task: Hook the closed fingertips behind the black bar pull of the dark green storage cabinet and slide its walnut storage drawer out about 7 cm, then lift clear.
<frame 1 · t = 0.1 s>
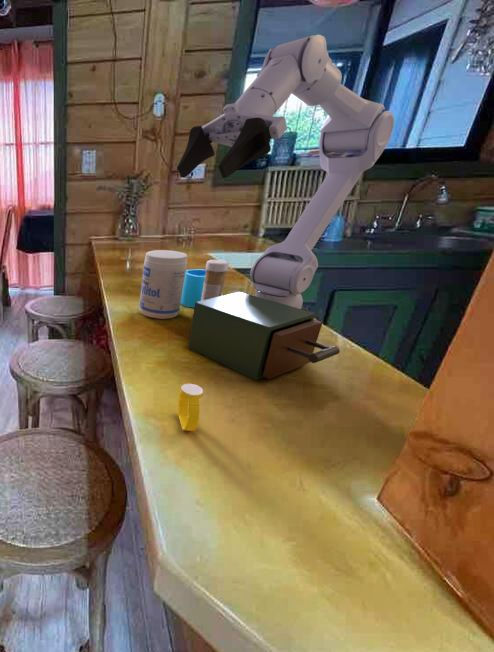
hand: (200, 172, 57), 32 cm above the breakfast bar, tool tilted 50°, fingers open, 7 cm apart
sprinkles bottle: (207, 317, 90), on the breakfast bar
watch: (185, 425, 52), on the breakfast bar
cabinet: (241, 355, 71), on the breakfast bar
mug: (195, 301, 101), on the breakfast bar
supplement tub: (158, 313, 93), on the breakfast bar
drawer: (270, 340, 66), point 5 cm above the breakfast bar, slide at 0.5 cm
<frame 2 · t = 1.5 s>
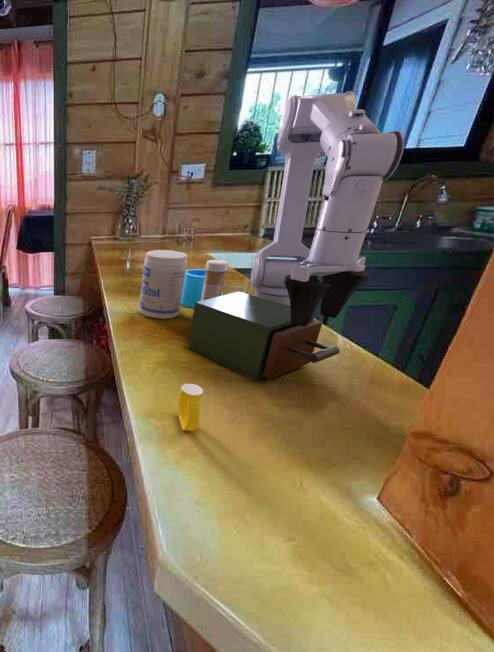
hand: (313, 320, 58), 11 cm above the breakfast bar, tool pointing down, fingers open, 7 cm apart
nothing on the breakfast bar moved.
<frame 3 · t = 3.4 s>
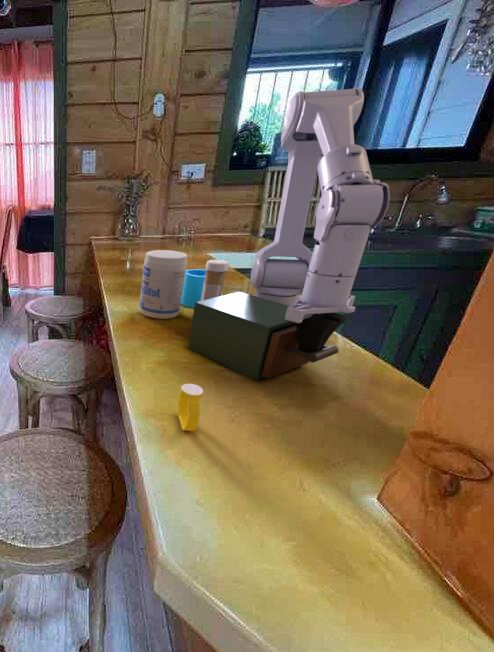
hand: (307, 356, 60), 5 cm above the breakfast bar, tool pointing down, fingers closed, pressing on drawer
drawer: (269, 340, 66), point 5 cm above the breakfast bar, slide at 0.3 cm, touching gripper
everything else where it was.
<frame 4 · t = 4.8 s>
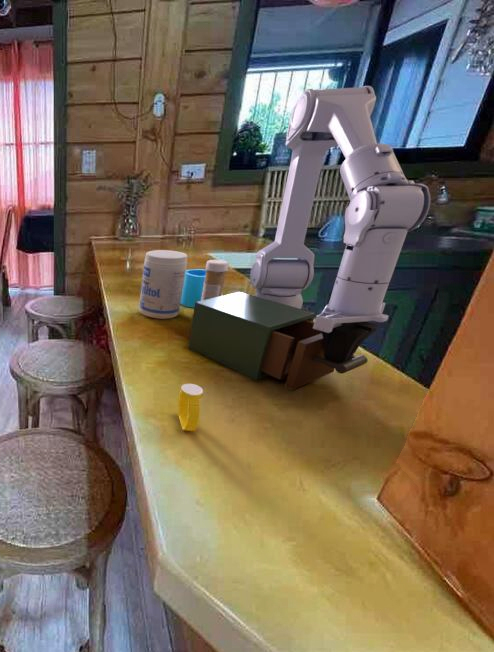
hand: (333, 366, 57), 5 cm above the breakfast bar, tool pointing down, fingers closed, pressing on drawer
drawer: (292, 348, 62), point 5 cm above the breakfast bar, slide at 4.2 cm, touching gripper
everything else where it was.
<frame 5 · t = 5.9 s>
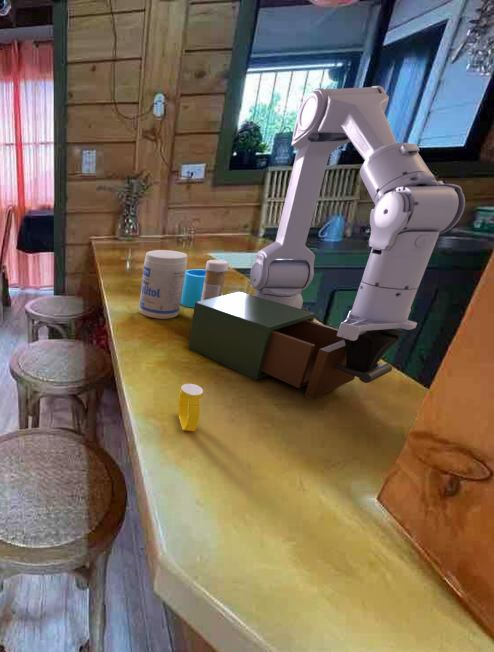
hand: (356, 374, 55), 5 cm above the breakfast bar, tool pointing down, fingers closed, pressing on drawer
drawer: (311, 355, 60), point 5 cm above the breakfast bar, slide at 7.3 cm, touching gripper
everything else where it was.
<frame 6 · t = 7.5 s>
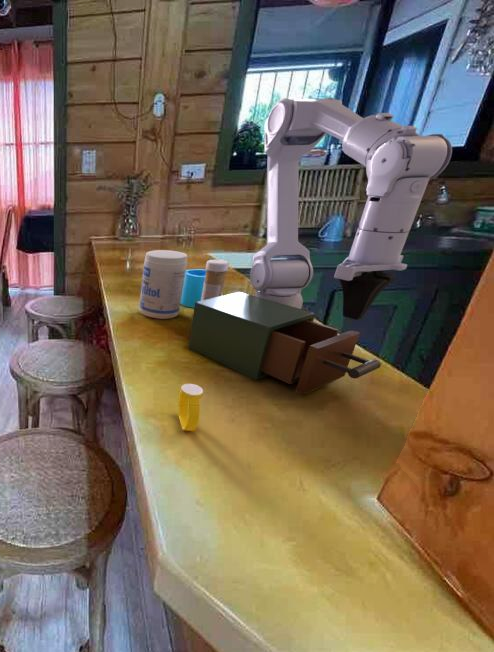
hand: (351, 317, 60), 10 cm above the breakfast bar, tool pointing down, fingers closed
drawer: (302, 352, 61), point 5 cm above the breakfast bar, slide at 5.9 cm
everything else where it was.
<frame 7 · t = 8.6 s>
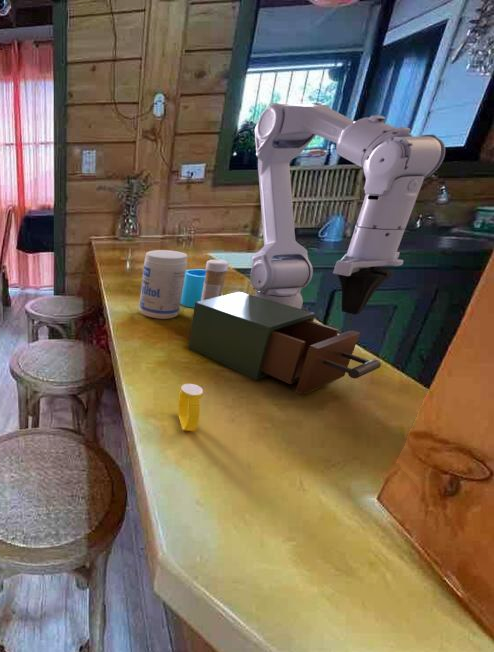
hand: (350, 312, 62), 10 cm above the breakfast bar, tool pointing down, fingers closed
nothing on the breakfast bar moved.
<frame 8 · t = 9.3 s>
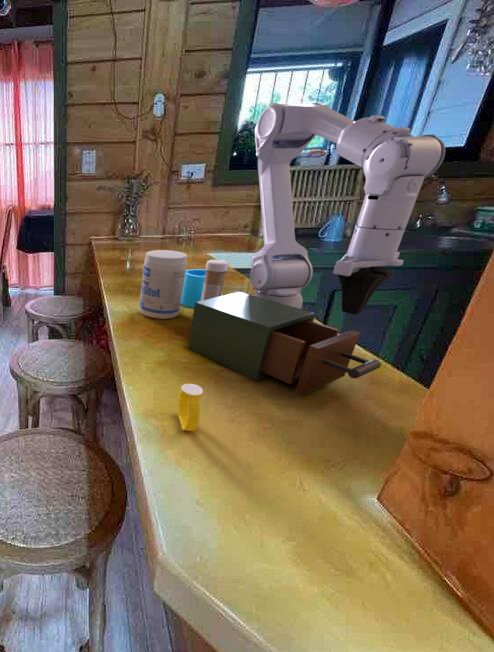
hand: (350, 312, 62), 10 cm above the breakfast bar, tool pointing down, fingers closed
nothing on the breakfast bar moved.
at the end: drawer slide at 5.9 cm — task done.
